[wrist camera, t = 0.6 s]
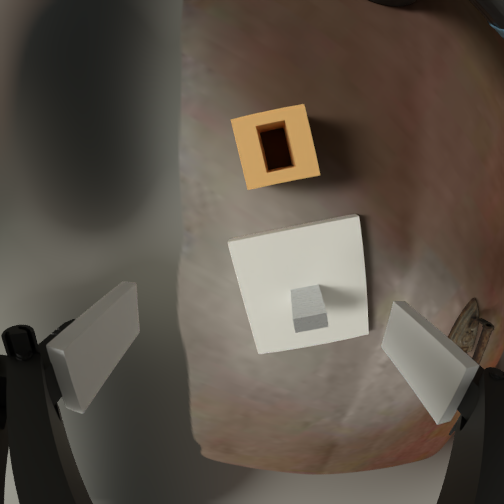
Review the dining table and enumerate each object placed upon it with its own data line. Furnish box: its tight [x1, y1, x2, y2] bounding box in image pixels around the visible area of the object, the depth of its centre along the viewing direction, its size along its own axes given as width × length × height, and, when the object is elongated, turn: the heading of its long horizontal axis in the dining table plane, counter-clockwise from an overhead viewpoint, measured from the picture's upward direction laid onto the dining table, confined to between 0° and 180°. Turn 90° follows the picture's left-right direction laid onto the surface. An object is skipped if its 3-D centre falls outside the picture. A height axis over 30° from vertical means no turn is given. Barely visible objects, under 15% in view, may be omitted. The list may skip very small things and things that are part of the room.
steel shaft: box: [291, 284, 329, 333], centre depth 32 cm, size 4×2×7 cm, turn 103°
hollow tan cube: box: [231, 104, 320, 190], centre depth 28 cm, size 7×7×7 cm
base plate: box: [228, 214, 369, 354], centre depth 36 cm, size 16×17×2 cm
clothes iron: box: [448, 298, 494, 364], centre depth 34 cm, size 7×11×10 cm, turn 3°
